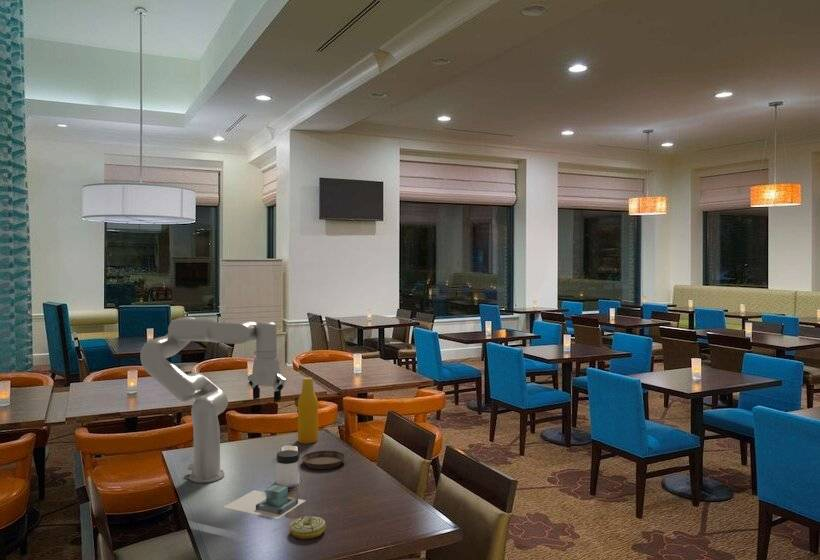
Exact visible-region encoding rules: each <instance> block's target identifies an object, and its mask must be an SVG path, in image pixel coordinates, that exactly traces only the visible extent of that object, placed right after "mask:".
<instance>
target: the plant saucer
mask: <svg viewBox="0 0 820 560" xmlns="http://www.w3.org/2000/svg"><path fill="white" fill-rule="evenodd" d="M345 458H346V455H345V453H342V452H341V451H335V450H318V451H317V450H315V451H312V452H311V451H310V452H307V453H305V454H303V455H302V457H301V460H302V462H303V463H304V465H306V466H307V467H308V468H310V469H314V470H327V469H329V470H330V469H334V468H337V467H339V466H340V465H341V464H342V463H343V461H345Z"/></svg>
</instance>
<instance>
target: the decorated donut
mask: <svg viewBox="0 0 820 560" xmlns="http://www.w3.org/2000/svg"><path fill="white" fill-rule="evenodd" d="M326 526H327V525H326V521H325V519H324V518H322V517H320V516H311V515H307V516H301V517H299V518H296V519H294V520H293V521H291V522H290V524H289V527H288V530H289V532H290V535H292V536H293V537H294V538H298V539H301V540H309V539H310V540H311V539H316V538H318V537H319V536H322V534H323V533H324V532H325V530H326Z"/></svg>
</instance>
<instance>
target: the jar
mask: <svg viewBox="0 0 820 560" xmlns="http://www.w3.org/2000/svg"><path fill="white" fill-rule="evenodd" d="M275 466H276V467H275V468H276V469H275V471H276V473H275V476H276V477H275V478H276V479H275V481H276V482H275V485H280V486H285V487H289V486H293V485H298V484H300V452H299V451H298V450H294V449H285V450H280V451H278V452H277V453H276V464H275Z"/></svg>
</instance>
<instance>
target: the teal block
mask: <svg viewBox="0 0 820 560" xmlns="http://www.w3.org/2000/svg"><path fill="white" fill-rule="evenodd" d="M288 489H289V486H283V485H279V484H274V485H271V486H270V487H269V488H267V489H266V490H265V491H266V505H267V506H272V507H277V508H280V507H282V506H284V505H285V504H287V503H288V497H289V493H288V492H289V491H288Z"/></svg>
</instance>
